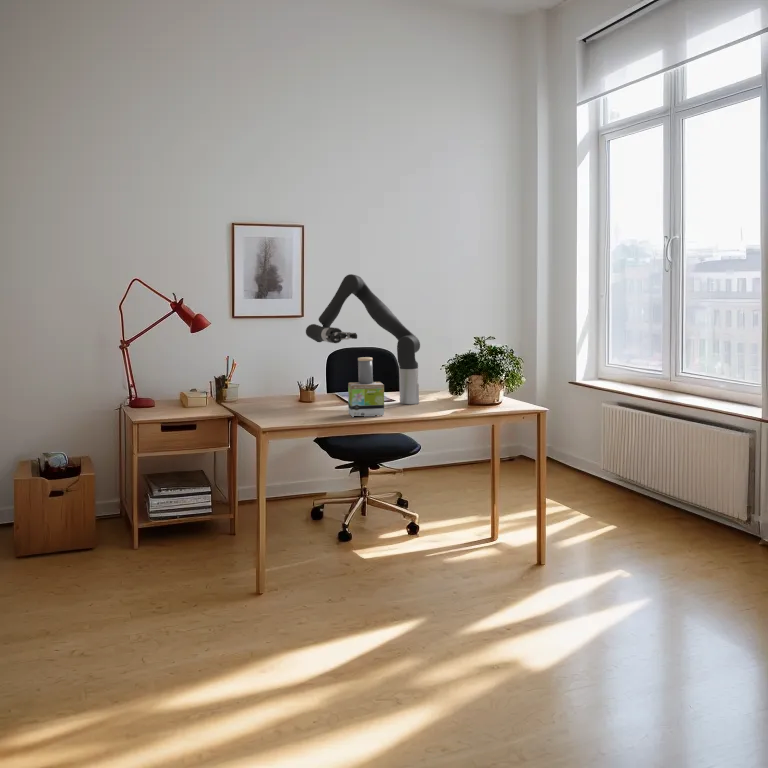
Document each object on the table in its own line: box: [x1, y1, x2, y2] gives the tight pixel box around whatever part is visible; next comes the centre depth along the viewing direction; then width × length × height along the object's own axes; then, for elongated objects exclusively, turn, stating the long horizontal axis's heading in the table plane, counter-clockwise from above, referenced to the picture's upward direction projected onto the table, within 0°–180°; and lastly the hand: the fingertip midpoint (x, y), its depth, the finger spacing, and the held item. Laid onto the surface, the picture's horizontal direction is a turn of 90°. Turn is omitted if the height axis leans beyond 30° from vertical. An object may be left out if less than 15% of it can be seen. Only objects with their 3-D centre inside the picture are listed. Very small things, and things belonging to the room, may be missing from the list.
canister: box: [357, 356, 374, 384], centre depth 363 cm, size 7×7×11 cm
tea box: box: [347, 381, 385, 418], centre depth 364 cm, size 15×10×15 cm, turn 102°
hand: (348, 337), depth 380 cm, fingers open, 8 cm apart
